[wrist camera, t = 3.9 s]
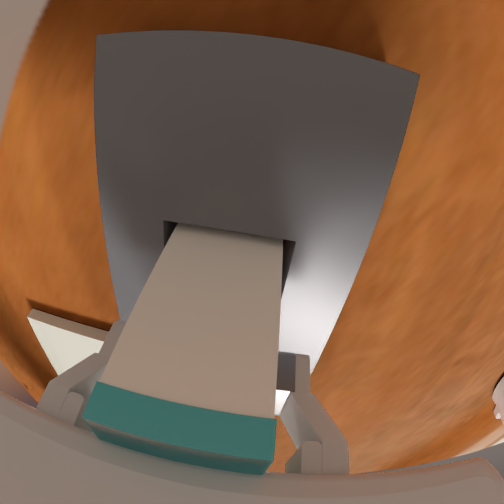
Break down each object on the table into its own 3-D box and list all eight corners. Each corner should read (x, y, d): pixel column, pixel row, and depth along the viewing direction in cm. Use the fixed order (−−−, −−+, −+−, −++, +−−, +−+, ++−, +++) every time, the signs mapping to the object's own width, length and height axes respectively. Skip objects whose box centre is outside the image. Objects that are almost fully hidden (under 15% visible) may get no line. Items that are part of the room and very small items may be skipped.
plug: (285, 203, 14) (274, 460, 5) (264, 300, 18) (242, 501, 9) (195, 189, 14) (81, 416, 5) (192, 288, 18) (132, 479, 9)
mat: (139, 339, 21) (134, 349, 21) (153, 401, 27) (151, 410, 26) (32, 308, 21) (26, 316, 21) (65, 374, 27) (62, 381, 26)
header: (386, 67, 10) (420, 74, 7) (289, 374, 22) (288, 416, 19) (140, 34, 10) (96, 34, 7) (153, 350, 22) (139, 389, 19)
